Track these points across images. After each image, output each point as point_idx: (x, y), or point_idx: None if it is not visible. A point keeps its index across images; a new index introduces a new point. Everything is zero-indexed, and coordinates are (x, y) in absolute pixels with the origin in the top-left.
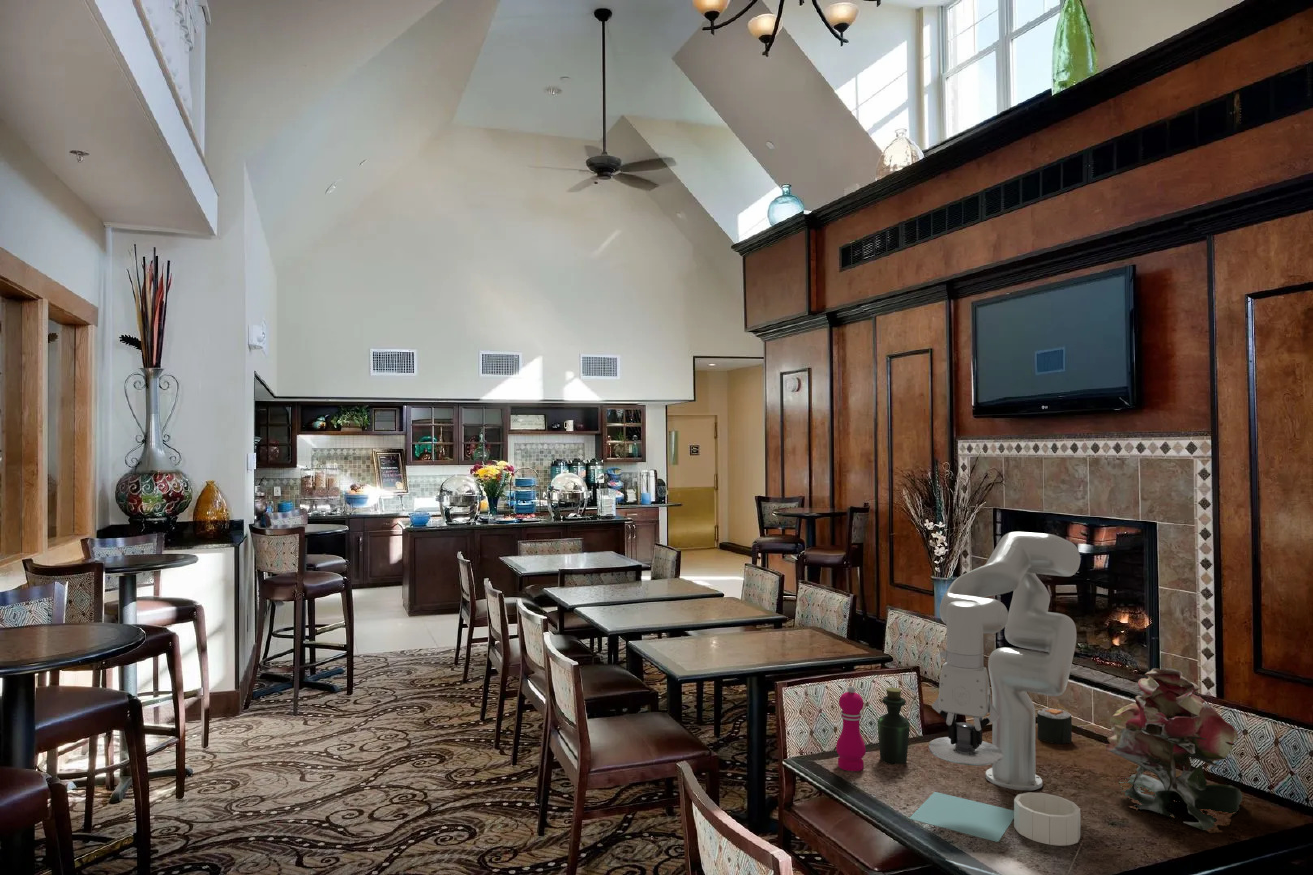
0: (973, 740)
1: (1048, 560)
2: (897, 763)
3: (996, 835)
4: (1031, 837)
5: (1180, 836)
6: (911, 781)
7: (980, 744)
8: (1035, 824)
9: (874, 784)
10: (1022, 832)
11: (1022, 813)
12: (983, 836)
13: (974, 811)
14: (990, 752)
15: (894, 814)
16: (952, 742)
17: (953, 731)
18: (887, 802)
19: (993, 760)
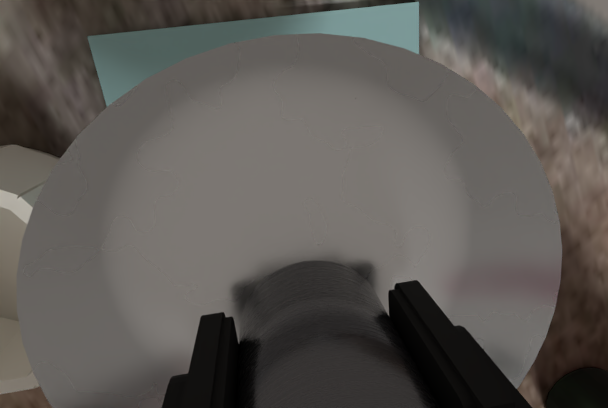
0: (214, 356)
1: None
2: (564, 379)
3: (120, 88)
4: (13, 146)
5: None
6: None
7: (175, 376)
8: None
9: (588, 208)
10: (56, 162)
11: (16, 181)
12: (148, 44)
13: None
14: (136, 379)
15: (472, 16)
16: (404, 285)
17: (443, 363)
18: (520, 101)
19: (23, 249)
